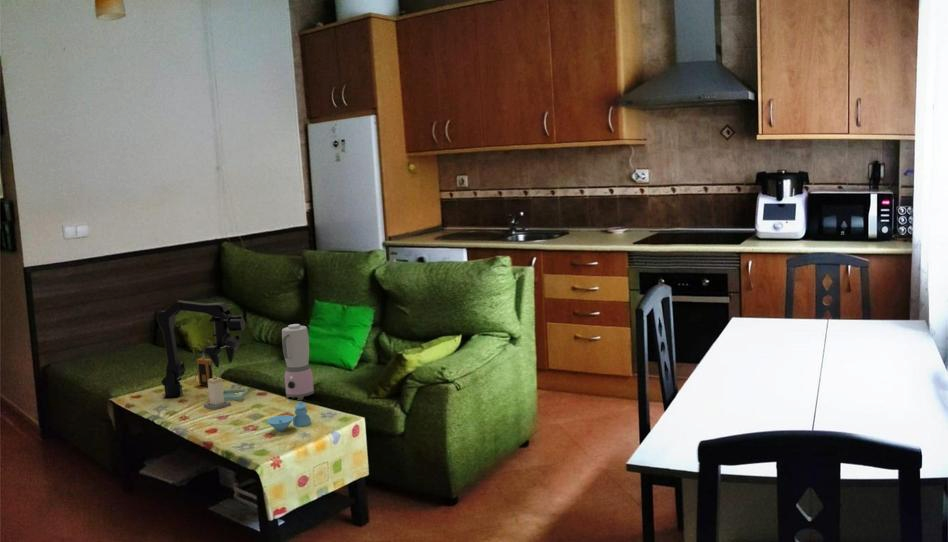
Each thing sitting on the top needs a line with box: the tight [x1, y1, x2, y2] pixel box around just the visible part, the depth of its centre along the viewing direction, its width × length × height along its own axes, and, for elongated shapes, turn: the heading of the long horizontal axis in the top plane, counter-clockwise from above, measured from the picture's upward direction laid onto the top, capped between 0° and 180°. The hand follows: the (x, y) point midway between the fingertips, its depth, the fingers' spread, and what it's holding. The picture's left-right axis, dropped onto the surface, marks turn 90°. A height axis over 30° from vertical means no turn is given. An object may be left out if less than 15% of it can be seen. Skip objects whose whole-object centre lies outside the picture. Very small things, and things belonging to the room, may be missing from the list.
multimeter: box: [194, 344, 217, 387], centre depth 390 cm, size 15×10×20 cm
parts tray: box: [223, 388, 249, 401], centre depth 366 cm, size 12×12×2 cm
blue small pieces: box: [266, 400, 312, 432], centre depth 318 cm, size 18×10×9 cm, turn 135°
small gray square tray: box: [203, 400, 232, 411], centre depth 352 cm, size 8×9×2 cm
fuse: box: [207, 376, 224, 406], centre depth 351 cm, size 4×4×12 cm
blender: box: [281, 323, 315, 401], centre depth 358 cm, size 16×12×32 cm
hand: (224, 364), depth 369 cm, fingers open, 9 cm apart
